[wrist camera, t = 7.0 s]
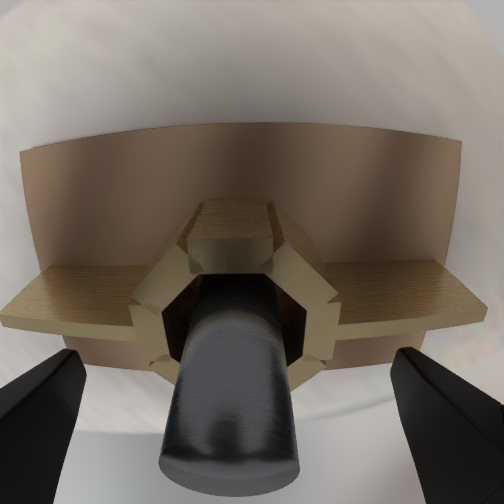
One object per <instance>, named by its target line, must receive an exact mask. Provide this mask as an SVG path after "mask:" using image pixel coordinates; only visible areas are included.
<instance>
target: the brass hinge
mask: <svg viewBox="0 0 504 504" xmlns="http://www.w3.org/2000/svg"><path fill="white" fill-rule="evenodd" d="M242 273H265V274H266V275H267V276H268V277H269V278H270V279H271V280H273V281H274V282H275V283H276V284H277V285H278V286H279V287H281V288H282V289H283V290H284V291H283V292H282V293H281V294H280V295H278V296H277V300H278V307H279V314H280V321H281V328H282V335H283V342H284V349H285V357H286V364H287V371H288V379H289V387H290V392H291V391H292V390H294V389H295V388H297V387H298V386H300V385H301V384H303V383H304V382H306V381H307V380H309V379H310V378H312V377H313V376H314V375H316V374H317V373H319V372H320V371H321V370H323V369H324V368H326V367H327V365H326V361H325V360H330V359H332V357H333V352H334V346H335V340H347V339H358V338H369V337H379V336H388V335H397V334H405V333H413V332H420V331H427V330H434V329H441V328H447V327H454V326H460V325H465V324H471V323H476V322H482V321H483V320H484V318H485V315H486V312H487V309H488V307H487V306H486V305H485V304H484V303H482V302H481V301H480V300H479V299H478V298H477V297H476V296H475V295H474V294H473V293H472V292H471V291H470V290H469V289H468V288H467V287H466V286H464V285H463V284H462V283H461V282H460V281H459V280H458V279H457V278H456V277H455V276H453V275H452V274H451V273H450V272H449V271H448V270H447V269H446V268H444V267H443V266H442V265H441V264H440V263H439V262H437V261H436V260H435V259H427V260H395V261H360V262H323V261H322V259H321V257H320V256H319V254H318V252H317V250H316V248H315V246H314V244H313V242H312V240H311V238H310V237H309V236H308V235H307V234H306V233H305V232H304V231H303V230H302V229H301V228H300V227H299V226H298V225H297V224H296V223H295V222H294V221H293V220H292V219H291V218H290V217H289V216H288V215H287V214H286V213H285V212H284V211H283V210H282V209H281V208H280V207H279V206H278V205H277V204H276V203H275V202H273V201H272V202H271V203H270V204H269V205H268V206H266V202H265V198H264V197H258V198H212V199H207V201H206V203H205V204H204V205H202V204H201V203H200V202H199V204H198V205H197V206H196V207H195V208H194V209H193V210H192V211H191V212H190V213H189V214H188V216H187V217H186V218H185V219H184V220H183V221H182V222H181V223H180V224H179V226H178V227H177V228H176V229H175V230H174V231H173V232H172V233H171V235H170V236H169V237H168V238H167V239H166V240H165V242H164V243H163V245H162V246H161V248H160V249H159V251H158V252H157V254H156V255H155V257H154V259H153V260H152V262H151V263H150V265H50V266H48V267H47V268H46V269H45V270H44V271H43V272H42V273H41V274H39V275H38V276H37V277H36V278H35V279H34V280H33V281H32V282H31V283H29V284H28V285H27V286H26V287H25V288H24V289H23V290H22V291H21V292H20V293H19V294H18V295H17V296H16V297H14V298H13V299H12V300H11V301H10V302H9V303H8V304H7V305H6V306H5V307H4V308H3V309H2V310H1V311H0V320H1V323H2V325H3V327H8V328H15V329H21V330H27V331H34V332H41V333H49V334H57V335H65V336H74V337H84V338H94V339H105V340H118V341H132V342H138V345H139V349H140V353H141V356H142V360H144V361H150V364H149V367H148V368H150V369H151V370H153V371H154V372H156V373H157V374H159V375H160V376H162V377H163V378H165V379H166V380H168V381H169V382H171V383H172V384H174V385H175V384H176V379H177V375H178V371H179V367H180V362H181V358H182V354H183V350H184V346H185V342H186V338H187V334H188V330H189V326H190V322H191V318H192V314H193V310H194V306H195V302H196V298H197V294H196V293H195V292H194V291H193V290H191V287H190V282H191V281H192V280H193V279H194V278H195V277H196V276H197V275H198V274H242Z"/></svg>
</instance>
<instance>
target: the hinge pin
mask: <svg viewBox="0 0 504 504" xmlns="http://www.w3.org/2000/svg"><path fill="white" fill-rule="evenodd" d="M159 466H160V469H161V471H162V472H163V474H165V475H166V477H168V478H169V479H170V480H172V481H173V482H175V483H177V484H179V485H181V486H183V487H186V488H188V489H191V490H194V491H197V492H201V493H205V494H210V495H216V496H227V497H245V496H255V495H261V494H266V493H270V492H273V491H276V490H279V489H281V488H283V487H285V486H287V485H289V484H290V483H292V482H293V481H294V480H295V479H296V478H297V476H298V474H299V472H300V467H299V458H298V450H297V442H296V435H295V425H294V417H293V410H292V402H291V394H290V387H289V379H288V371H287V364H286V357H285V349H284V342H283V335H282V328H281V321H280V314H279V307H278V300H277V293H276V286H275V282H274V281H273V280H271V279H270V278H269V277H268V276H267V275H266V274H265V273H242V274H203V276H202V279H201V283H200V287H199V291H198V294H197V298H196V302H195V306H194V310H193V314H192V318H191V322H190V326H189V330H188V334H187V338H186V342H185V346H184V350H183V354H182V358H181V362H180V367H179V371H178V375H177V379H176V384H175V388H174V392H173V397H172V401H171V406H170V410H169V415H168V419H167V424H166V429H165V433H164V438H163V443H162V448H161V453H160V458H159Z"/></svg>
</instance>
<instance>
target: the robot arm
mask: <svg viewBox="0 0 504 504" xmlns="http://www.w3.org/2000/svg"><path fill="white" fill-rule="evenodd" d="M86 376H87V375H86V369H85V367H84V365H83V362H82V360H81V357H80V355H79V353H78V351H77V350H74V349H63V350H61V351H59V352H58V353H56V354H55V355H53V356H51V357H50V358H48V359H47V360H45V361H43V362H42V363H40V364H39V365H37V366H35V367H34V368H32V369H31V370H29V371H27V372H26V373H24V374H23V375H21V376H19V377H18V378H16V379H15V380H13V381H11V382H10V383H8V384H7V385H5V386H4V387H2V388H0V504H53V502H54V498H55V493H56V489H57V485H58V482H59V478H60V474H61V470H62V467H63V463H64V460H65V456H66V453H67V449H68V446H69V443H70V440H71V437H72V433H73V430H74V427H75V424H76V420H77V416H78V412H79V408H80V403H81V399H82V394H83V390H84V386H85V382H86ZM390 377H391V381H392V385H393V389H394V394H395V398H396V402H397V407H398V411H399V415H400V419H401V423H402V426H403V429H404V432H405V435H406V438H407V441H408V445H409V448H410V451H411V454H412V457H413V460H414V463H415V466H416V470H417V473H418V477H419V480H420V483H421V487H422V491H423V494H424V497H425V501H426V504H504V405H503V404H502V405H501V403H500V402H498V401H497V400H495V399H494V398H492V397H491V396H489V395H487V394H486V393H484V392H483V391H481V390H480V389H478V388H476V387H475V386H473V385H472V384H470V383H468V382H467V381H465V380H464V379H462V378H461V377H459V376H458V375H456V374H454V373H453V372H451V371H450V370H448V369H447V368H445V367H443V366H442V365H440V364H439V363H437V362H436V361H434V360H432V359H431V358H429V357H428V356H426V355H425V354H423V353H421V352H420V351H418V350H417V349H415V348H413V347H411V346H409V347H402V348H399V349H398V350H397V352H396V354H395V358H394V361H393V364H392V367H391V370H390Z"/></svg>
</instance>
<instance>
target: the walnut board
mask: <svg viewBox="0 0 504 504" xmlns="http://www.w3.org/2000/svg"><path fill="white" fill-rule="evenodd" d="M461 147H462V141H458V140H452V139H447V138H442V137H436V136H430V135H423V134H417V133H410V132H403V131H395V130H387V129H378V128H368V127H357V126H345V125H330V124H311V123H219V124H200V125H185V126H172V127H161V128H152V129H143V130H134V131H126V132H119V133H112V134H105V135H99V136H93V137H87V138H81V139H76V140H70V141H65V142H60V143H56V144H51V145H46V146H42V147H37V148H33V149H29V150H25V151H21V152H20V162H21V171H22V179H23V186H24V193H25V199H26V205H27V211H28V216H29V221H30V226H31V231H32V236H33V240H34V245H35V249H36V253H37V257H38V261H39V265H40V269H41V272H43V271H44V270H45V269H46V268H47V267H48V266H50V265H150V263H151V262H152V260H153V259H154V257H155V255H156V254H157V252H158V251H159V249H160V248H161V246H162V245H163V243H164V242H165V240H166V239H167V238H168V237H169V236H170V235H171V233H172V232H173V231H174V230H175V229H176V228H177V227H178V226H179V224H180V223H181V222H182V221H183V220H184V219H185V218H186V217H187V216H188V214H189V213H190V212H191V211H192V210H193V209H194V208H195V207H196V206H197V205H198V204H199V202H200V203H201V204H202V205H204V204H205V203H206V201H207V199H212V198H258V197H264V198H265V202H266V206H268V205H269V204H270V203H271V202H272V201H273V202H275V203H276V204H277V205H278V206H279V207H280V208H281V209H282V210H283V211H284V212H285V213H286V214H287V215H288V216H289V217H290V218H291V219H292V220H293V221H294V222H295V223H296V224H297V225H298V226H299V227H300V228H301V229H302V230H303V231H304V232H305V233H306V234H307V235H308V236H309V237H310V238H311V240H312V242H313V244H314V246H315V248H316V250H317V252H318V254H319V256H320V257H321V259H322V261H323V262H360V261H395V260H427V259H435V260H436V261H437V262H439V263H440V264H441V265H442V266H443V267H444V265H445V260H446V256H447V251H448V246H449V241H450V236H451V230H452V224H453V218H454V212H455V205H456V198H457V190H458V182H459V172H460V161H461ZM202 276H203V274H198V275H197V276H196V277H195V278H194V279H193V280H192V281H191V282H190V287H191V290H193V291H194V292H195V293H196V294H198V291H199V287H200V283H201V279H202ZM275 286H276V293H277V296H278V295H280V294H281V293H282V292H283V291H284V290H283V289H282V288H281V287H279V286H278V285H277V284H276V283H275ZM425 333H426V331H420V332H413V333H405V334H397V335H388V336H379V337H369V338H358V339H347V340H335V346H334V352H333V357H332V359H330V360H325V361H326V365H327V367H326V368H324V369H323V370H332V369H342V368H352V367H361V366H370V365H378V364H385V363H392V362H393V361H394V358H395V354H396V352H397V350H398V349H399V348H402V347H409V346H411V347H413V348H415V349H417V350H418V351H420V348H421V345H422V342H423V339H424V336H425ZM62 336H63V339H64V342H65V344H66V347H67V349H74V350H77V351H78V353H79V355H80V357H81V360H82V362H83V364H88V365H95V366H104V367H112V368H122V369H133V370H145V371H153V370H151V369H150V368H148V367H149V364H150V361H144V360H142V356H141V353H140V349H139V345H138V342H132V341H118V340H105V339H94V338H84V337H74V336H65V335H62Z"/></svg>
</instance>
